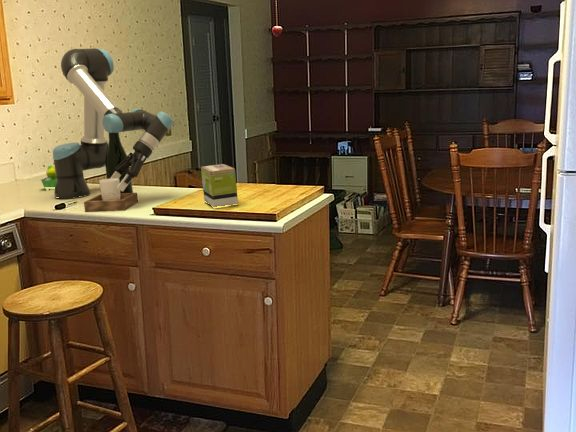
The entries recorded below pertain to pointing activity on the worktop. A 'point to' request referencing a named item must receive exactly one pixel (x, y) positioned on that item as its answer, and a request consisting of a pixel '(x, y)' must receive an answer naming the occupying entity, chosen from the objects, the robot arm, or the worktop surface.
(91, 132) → the robot arm
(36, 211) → the worktop surface
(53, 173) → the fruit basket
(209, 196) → the tea box
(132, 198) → the walnut box
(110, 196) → the white cup
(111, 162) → the wine bottle
